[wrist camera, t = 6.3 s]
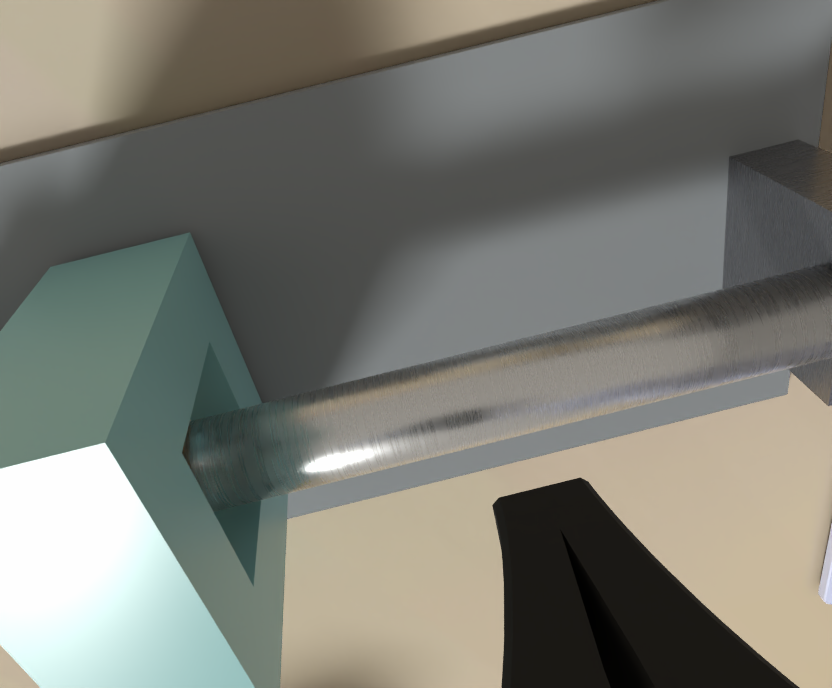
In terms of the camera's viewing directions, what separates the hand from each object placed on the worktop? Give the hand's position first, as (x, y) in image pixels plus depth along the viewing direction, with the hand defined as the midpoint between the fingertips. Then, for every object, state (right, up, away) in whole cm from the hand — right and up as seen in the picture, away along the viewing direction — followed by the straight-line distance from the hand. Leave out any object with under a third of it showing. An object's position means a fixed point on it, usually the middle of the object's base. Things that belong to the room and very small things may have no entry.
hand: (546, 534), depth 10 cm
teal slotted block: (-7, +2, +6) cm, 10 cm away
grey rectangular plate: (-2, +4, +6) cm, 8 cm away
